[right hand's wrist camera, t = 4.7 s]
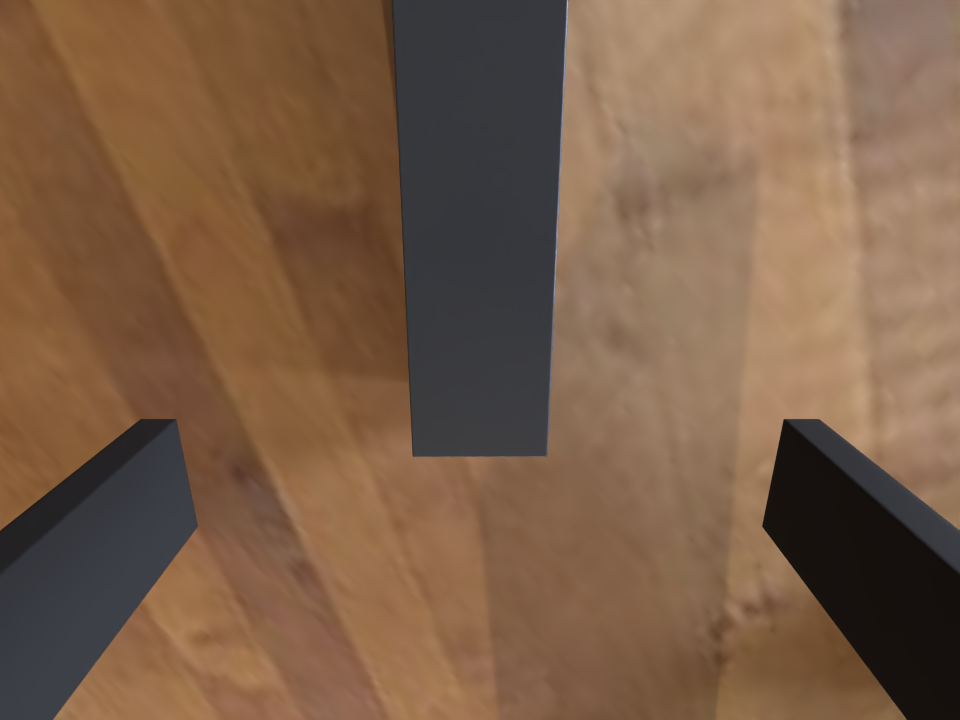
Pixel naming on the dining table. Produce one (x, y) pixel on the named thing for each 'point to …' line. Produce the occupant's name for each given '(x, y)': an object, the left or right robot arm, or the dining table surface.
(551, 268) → the beam
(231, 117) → the dining table surface
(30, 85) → the dining table surface
